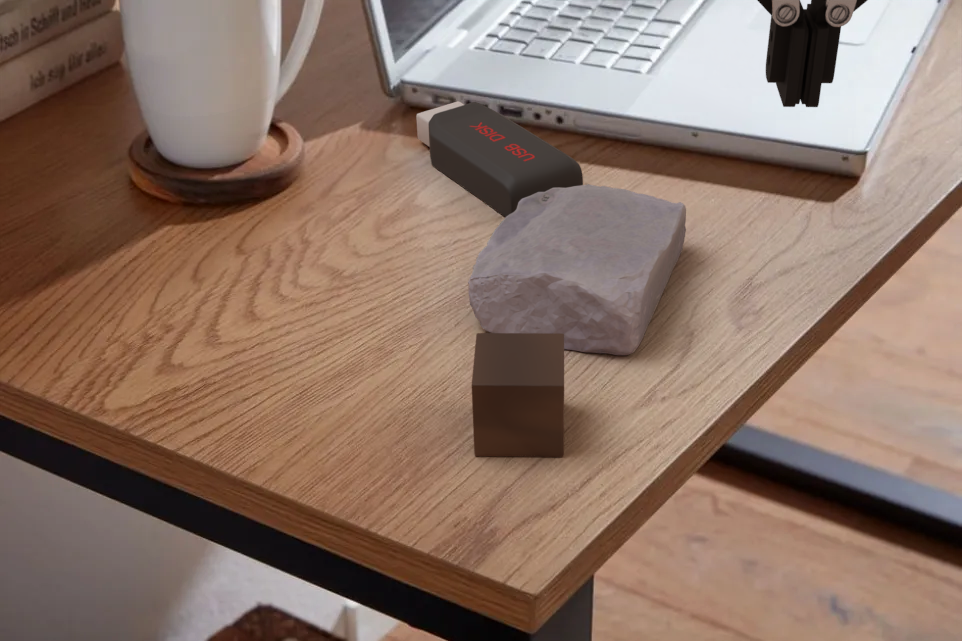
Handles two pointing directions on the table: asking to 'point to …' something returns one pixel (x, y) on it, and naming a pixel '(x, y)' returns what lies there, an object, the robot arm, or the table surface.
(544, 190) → the usb drive
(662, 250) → the stone block
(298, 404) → the table surface
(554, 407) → the walnut block
